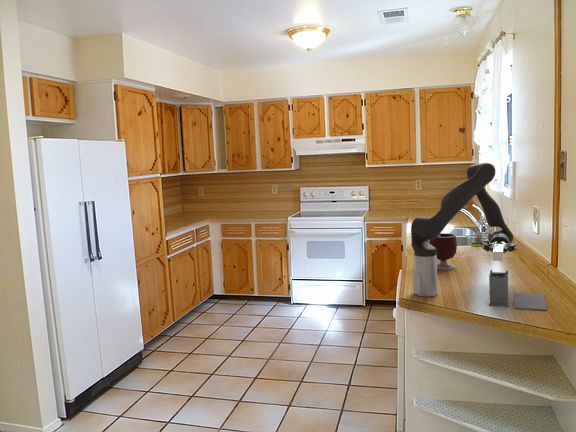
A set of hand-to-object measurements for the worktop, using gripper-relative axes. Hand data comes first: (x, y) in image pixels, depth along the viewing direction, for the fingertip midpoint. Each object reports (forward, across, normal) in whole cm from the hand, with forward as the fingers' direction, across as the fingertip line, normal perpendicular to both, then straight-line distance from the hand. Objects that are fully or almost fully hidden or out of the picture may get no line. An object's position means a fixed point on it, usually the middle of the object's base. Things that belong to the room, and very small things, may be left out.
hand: (498, 250), depth 200 cm
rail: (+3, 0, +2) cm, 4 cm away
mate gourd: (-53, -28, +20) cm, 63 cm away
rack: (+6, 0, +20) cm, 21 cm away
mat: (+3, +11, +20) cm, 23 cm away
